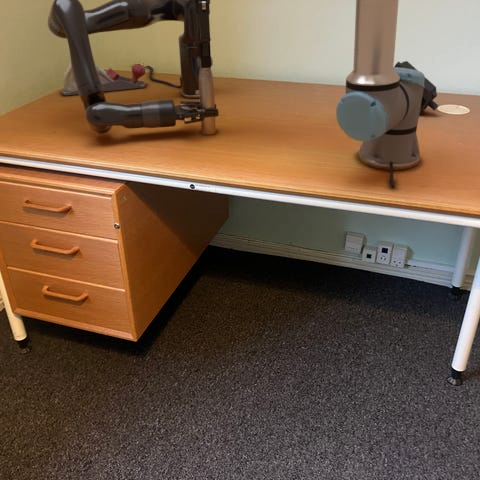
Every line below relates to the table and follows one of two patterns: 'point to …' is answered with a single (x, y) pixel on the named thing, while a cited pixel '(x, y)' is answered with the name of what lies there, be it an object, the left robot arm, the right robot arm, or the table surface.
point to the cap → (200, 61)
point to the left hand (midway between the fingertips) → (216, 109)
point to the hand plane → (107, 80)
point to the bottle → (207, 99)
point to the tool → (428, 90)
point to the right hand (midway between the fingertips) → (205, 64)
